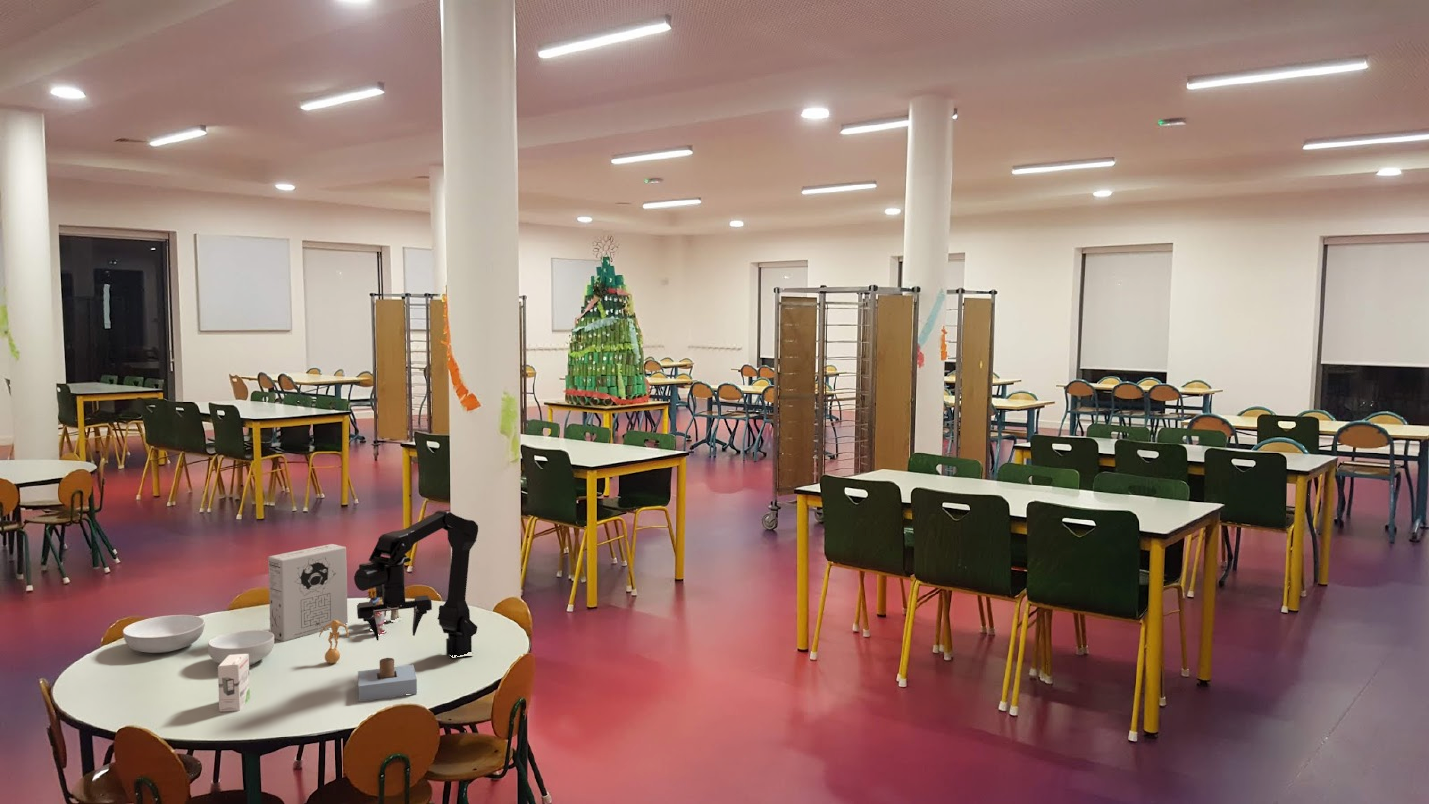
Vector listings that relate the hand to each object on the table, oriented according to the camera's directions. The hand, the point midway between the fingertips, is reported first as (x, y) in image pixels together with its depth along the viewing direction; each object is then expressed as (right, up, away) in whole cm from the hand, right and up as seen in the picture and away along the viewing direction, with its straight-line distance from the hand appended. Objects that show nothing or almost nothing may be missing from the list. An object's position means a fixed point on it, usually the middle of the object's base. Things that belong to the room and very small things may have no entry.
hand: (395, 637), depth 256 cm
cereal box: (-40, -8, +40) cm, 58 cm away
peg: (0, -12, -7) cm, 14 cm away
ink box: (-35, -13, -17) cm, 41 cm away
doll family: (-20, -8, +44) cm, 49 cm away
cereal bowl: (-47, -10, +12) cm, 50 cm away
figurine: (-22, -10, +13) cm, 28 cm away
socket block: (0, -12, -7) cm, 14 cm away
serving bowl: (-76, -9, +23) cm, 80 cm away
